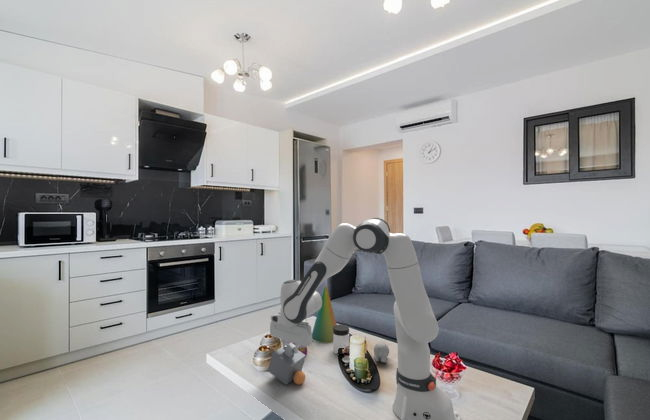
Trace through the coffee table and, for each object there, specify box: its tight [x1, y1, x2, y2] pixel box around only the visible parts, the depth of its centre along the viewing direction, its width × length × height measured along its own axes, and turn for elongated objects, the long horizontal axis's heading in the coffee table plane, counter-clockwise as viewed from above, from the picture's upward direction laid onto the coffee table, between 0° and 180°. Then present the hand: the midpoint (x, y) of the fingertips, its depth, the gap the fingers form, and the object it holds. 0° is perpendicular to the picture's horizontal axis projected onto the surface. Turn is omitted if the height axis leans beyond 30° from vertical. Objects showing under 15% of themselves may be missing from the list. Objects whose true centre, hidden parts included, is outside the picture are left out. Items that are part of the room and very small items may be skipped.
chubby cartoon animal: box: [372, 341, 390, 363], centre depth 146 cm, size 7×12×8 cm, turn 155°
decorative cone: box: [311, 283, 338, 344], centre depth 172 cm, size 16×16×30 cm
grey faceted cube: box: [267, 343, 307, 386], centre depth 129 cm, size 10×10×13 cm
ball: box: [292, 370, 306, 385], centre depth 125 cm, size 5×5×5 cm
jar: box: [332, 324, 350, 355], centre depth 154 cm, size 9×8×12 cm
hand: (290, 351), depth 128 cm, fingers closed on grey faceted cube, 4 cm apart
